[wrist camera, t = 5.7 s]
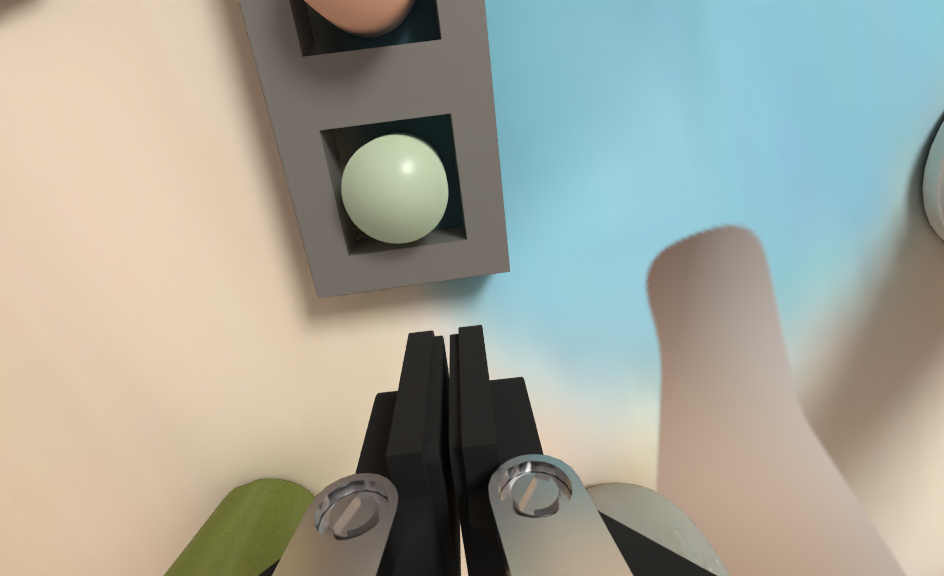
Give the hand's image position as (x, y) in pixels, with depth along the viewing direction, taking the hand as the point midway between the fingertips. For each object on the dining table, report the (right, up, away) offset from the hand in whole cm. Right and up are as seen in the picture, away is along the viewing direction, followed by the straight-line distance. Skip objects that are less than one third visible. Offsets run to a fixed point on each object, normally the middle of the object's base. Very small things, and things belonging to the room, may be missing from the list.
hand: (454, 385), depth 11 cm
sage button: (-3, +8, +14) cm, 16 cm away
